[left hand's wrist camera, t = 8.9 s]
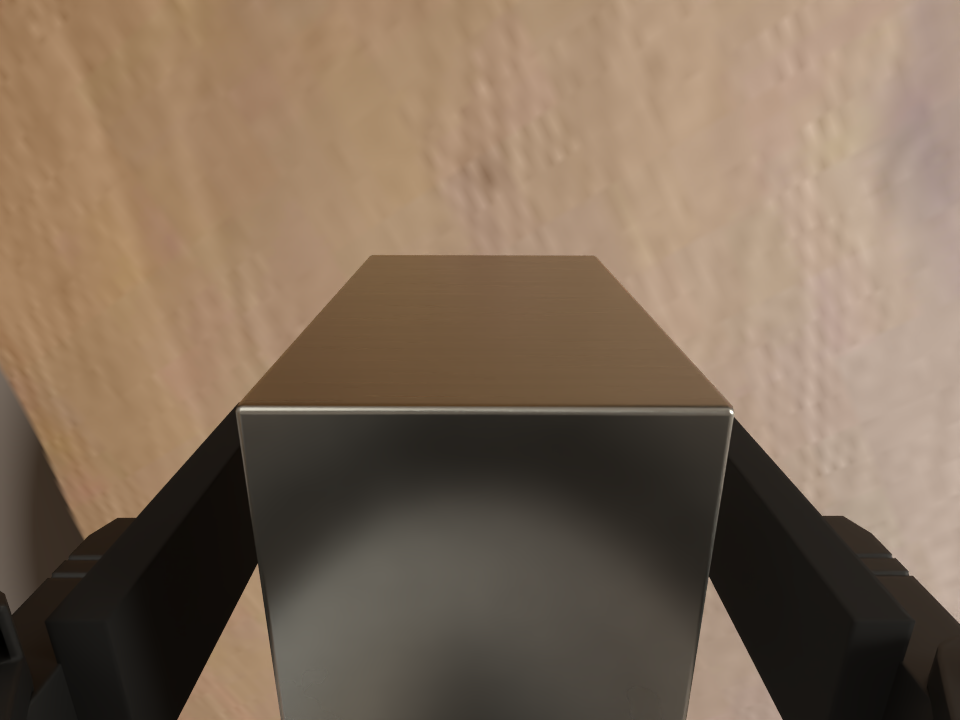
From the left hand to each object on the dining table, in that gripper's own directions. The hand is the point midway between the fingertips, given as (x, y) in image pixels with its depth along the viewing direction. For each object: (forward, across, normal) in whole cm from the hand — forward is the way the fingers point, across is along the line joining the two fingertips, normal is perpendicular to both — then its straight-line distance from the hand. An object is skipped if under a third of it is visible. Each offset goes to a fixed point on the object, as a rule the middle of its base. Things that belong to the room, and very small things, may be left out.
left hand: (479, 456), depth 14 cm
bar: (+2, 0, -8) cm, 9 cm away
